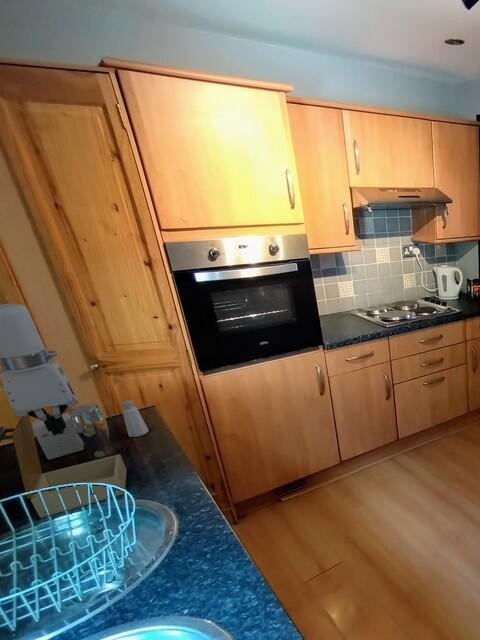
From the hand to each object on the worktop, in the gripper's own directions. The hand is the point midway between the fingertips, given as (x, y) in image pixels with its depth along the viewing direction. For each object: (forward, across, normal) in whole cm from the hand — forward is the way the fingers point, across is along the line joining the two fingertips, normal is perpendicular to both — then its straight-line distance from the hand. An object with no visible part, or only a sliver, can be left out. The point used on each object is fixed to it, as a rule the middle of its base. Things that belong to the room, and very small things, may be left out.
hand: (59, 432), depth 107 cm
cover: (+4, +6, 0) cm, 7 cm away
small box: (+18, +7, -29) cm, 35 cm away
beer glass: (+18, -2, -20) cm, 27 cm away
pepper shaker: (+18, -10, -30) cm, 36 cm away
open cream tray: (+18, 0, 0) cm, 18 cm away
